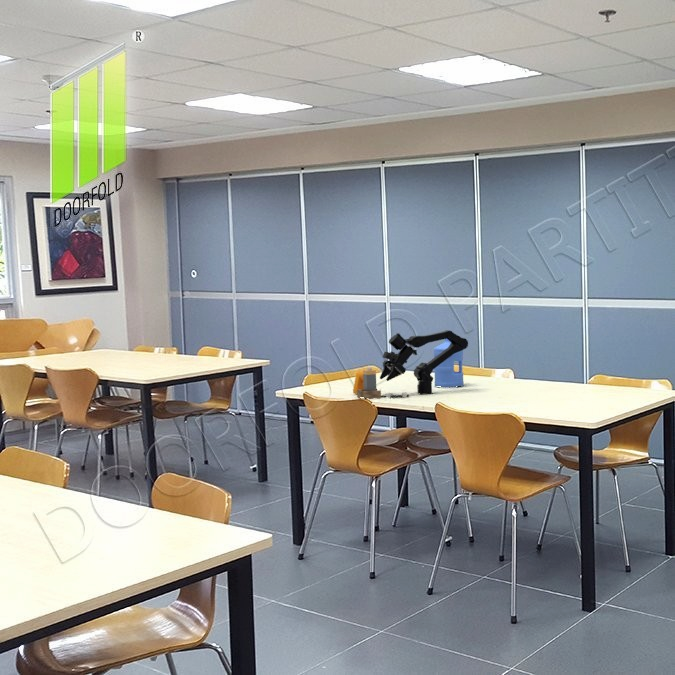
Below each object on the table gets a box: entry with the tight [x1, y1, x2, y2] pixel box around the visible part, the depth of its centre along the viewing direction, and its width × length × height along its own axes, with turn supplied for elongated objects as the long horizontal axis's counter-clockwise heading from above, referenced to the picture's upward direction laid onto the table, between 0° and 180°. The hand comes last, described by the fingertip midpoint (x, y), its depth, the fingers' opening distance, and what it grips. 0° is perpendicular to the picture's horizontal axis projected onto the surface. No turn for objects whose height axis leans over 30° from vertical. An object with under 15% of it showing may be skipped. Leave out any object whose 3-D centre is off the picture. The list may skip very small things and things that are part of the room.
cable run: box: [381, 394, 410, 398], centre depth 459 cm, size 15×2×1 cm, turn 83°
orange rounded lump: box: [352, 370, 364, 395], centre depth 475 cm, size 11×7×12 cm, turn 141°
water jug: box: [433, 339, 465, 388], centre depth 496 cm, size 16×16×28 cm
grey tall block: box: [362, 366, 377, 391], centre depth 460 cm, size 5×5×14 cm
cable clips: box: [385, 392, 408, 398], centre depth 459 cm, size 10×4×2 cm, turn 86°
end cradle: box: [356, 387, 382, 400], centre depth 460 cm, size 10×10×4 cm
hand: (383, 379), depth 462 cm, fingers open, 9 cm apart
